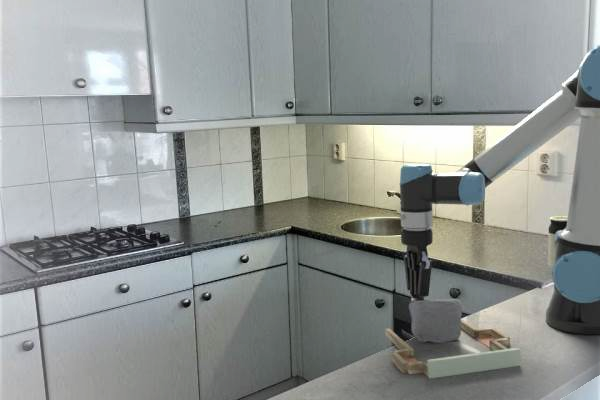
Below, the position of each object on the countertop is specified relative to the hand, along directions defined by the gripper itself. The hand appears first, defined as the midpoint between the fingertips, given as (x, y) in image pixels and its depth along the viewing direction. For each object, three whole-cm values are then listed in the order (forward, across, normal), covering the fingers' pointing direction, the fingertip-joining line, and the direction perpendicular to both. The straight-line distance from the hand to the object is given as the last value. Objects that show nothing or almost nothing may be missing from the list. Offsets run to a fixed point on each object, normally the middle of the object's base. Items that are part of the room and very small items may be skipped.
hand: (418, 321), depth 144 cm
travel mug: (+2, -32, +64) cm, 72 cm away
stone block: (+2, +10, 0) cm, 10 cm away
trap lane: (+1, +16, 0) cm, 16 cm away
